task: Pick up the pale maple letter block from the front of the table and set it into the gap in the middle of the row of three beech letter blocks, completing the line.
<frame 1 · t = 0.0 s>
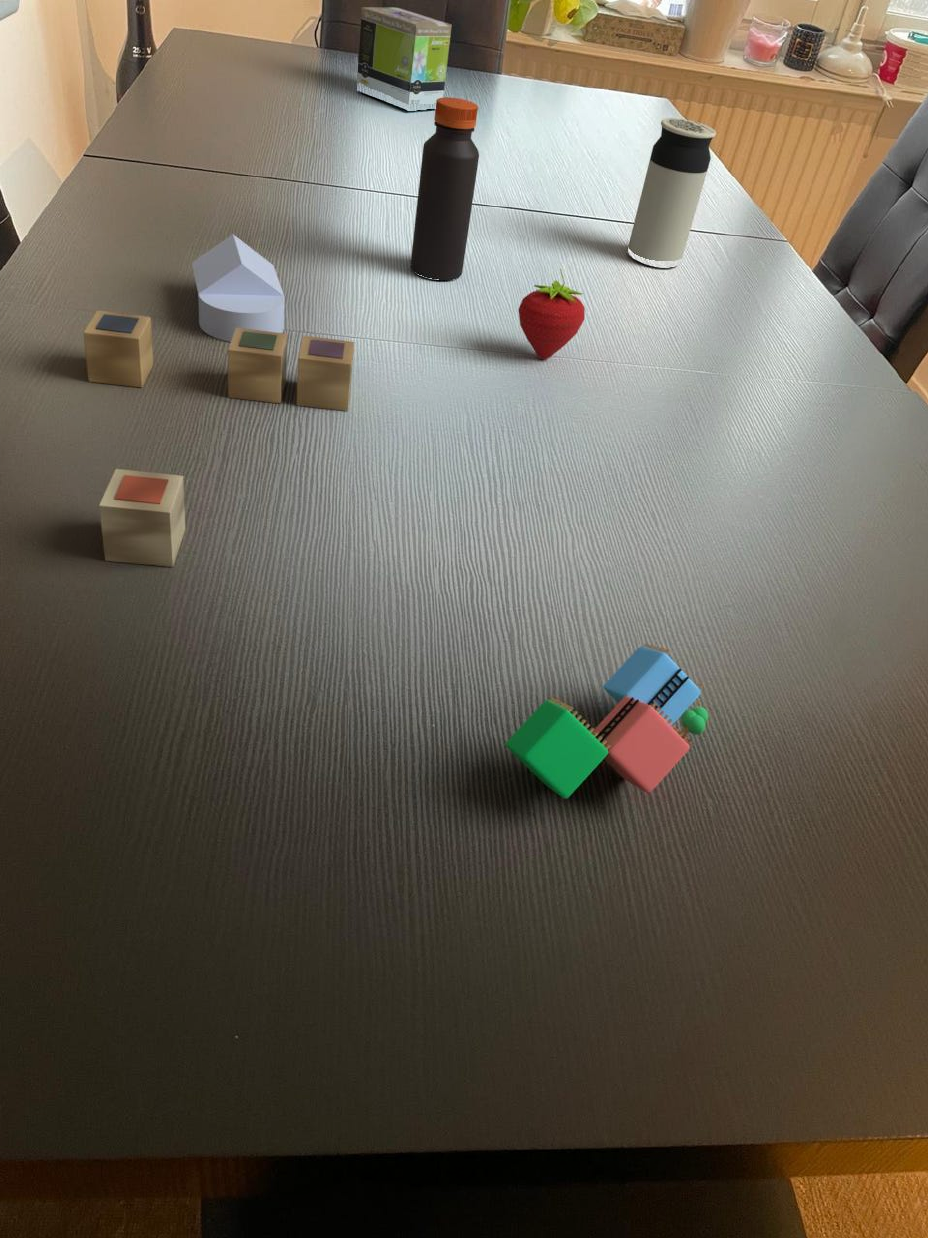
maple block: (146, 544, 76), on the table
travel mug: (652, 260, 143), on the table
beech block A: (121, 373, 95), on the table
beech block D: (324, 396, 98), on the table
bottle: (435, 273, 127), on the table
wedge on round base: (239, 318, 109), on the table
beech block C: (257, 388, 97), on the table
building blocks: (594, 753, 66), on the table
strawberry: (542, 359, 112), on the table
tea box: (398, 101, 193), on the table
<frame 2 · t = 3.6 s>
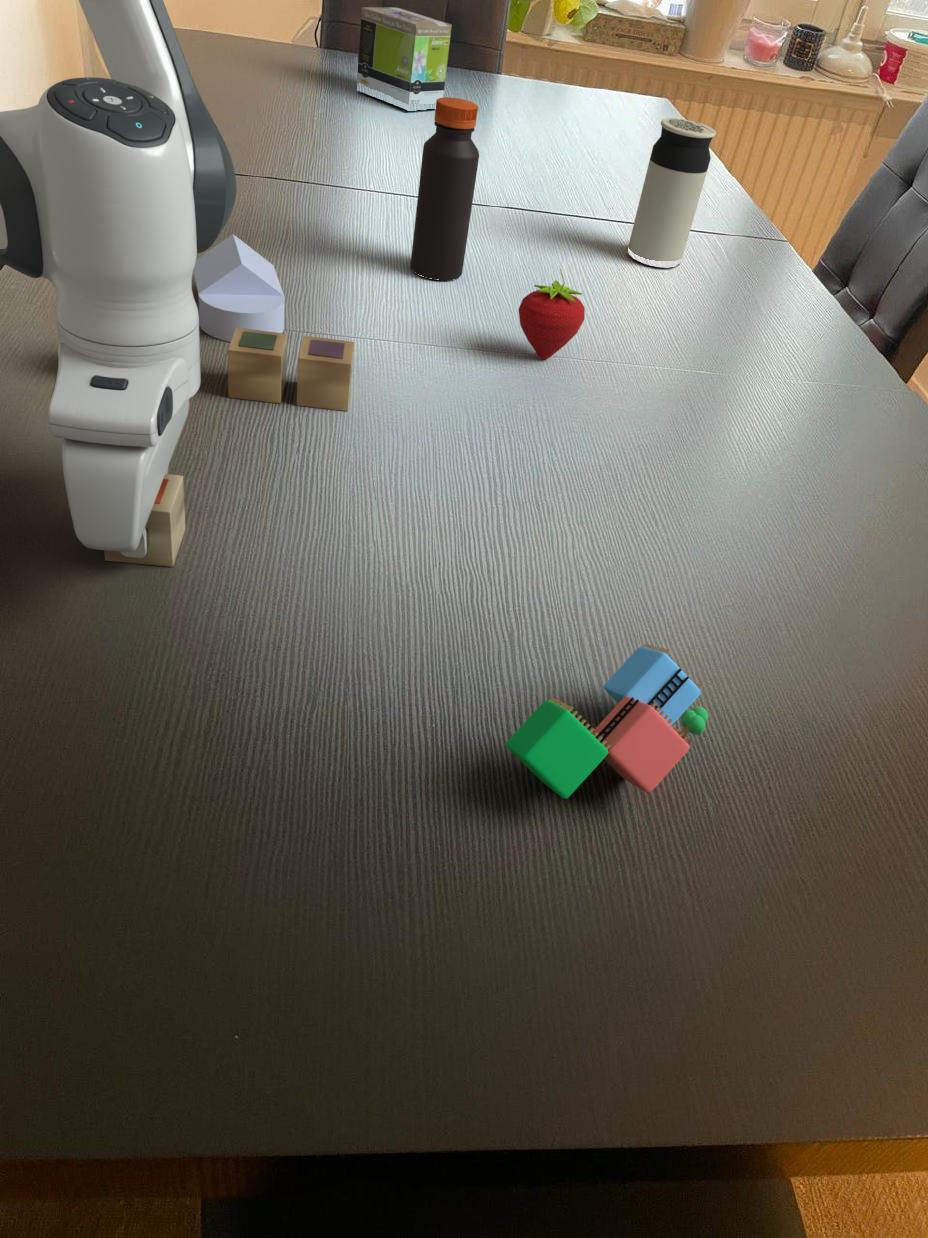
hand: (144, 527, 75), 2 cm above the table, tool pointing down, fingers closed on maple block, 5 cm apart
maple block: (146, 544, 76), on the table, touching gripper
everything else where it was.
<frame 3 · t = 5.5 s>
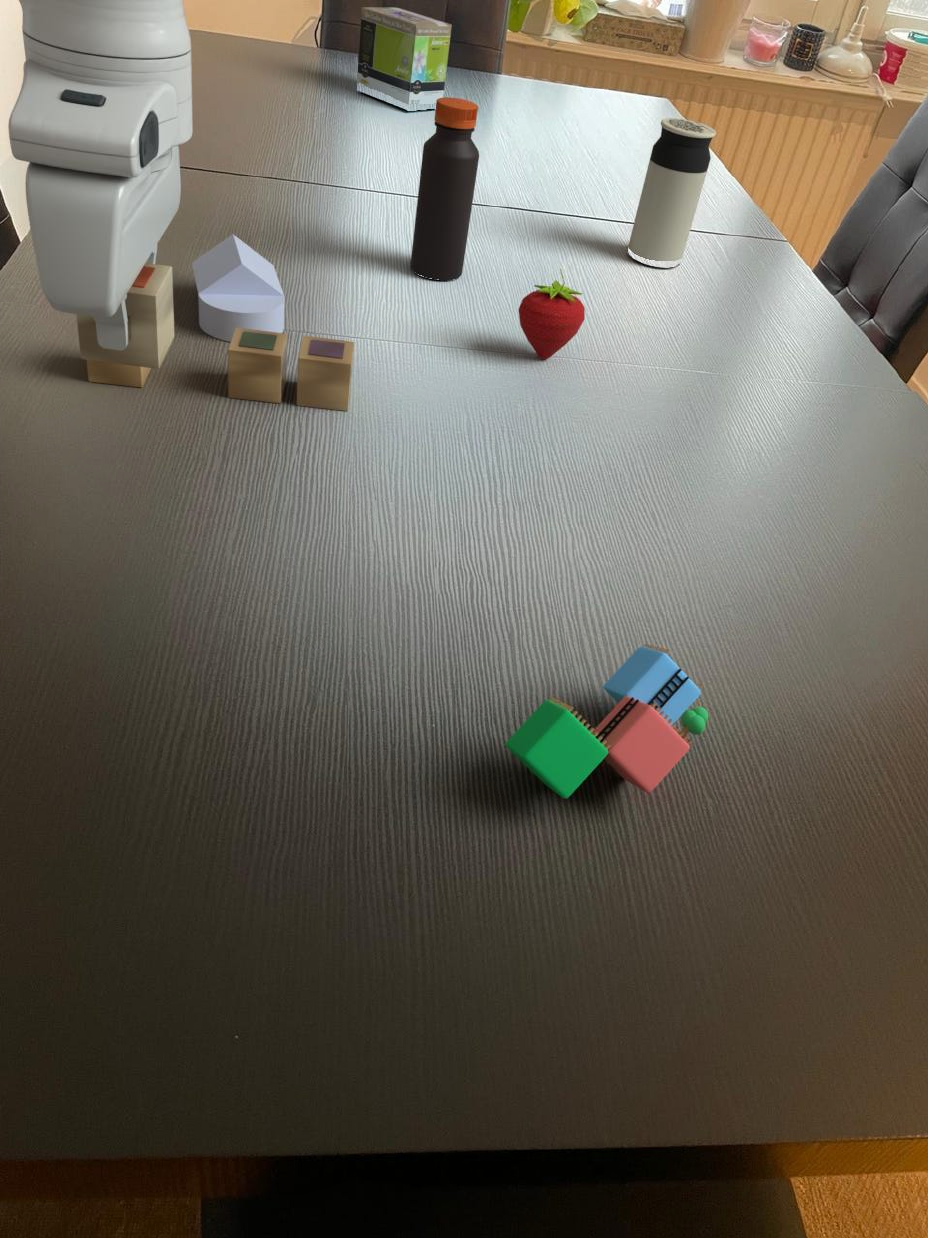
hand: (127, 324, 65), 17 cm above the table, tool pointing down, fingers closed on maple block, 5 cm apart
maple block: (129, 347, 66), point 16 cm above the table, touching gripper
everything else where it was.
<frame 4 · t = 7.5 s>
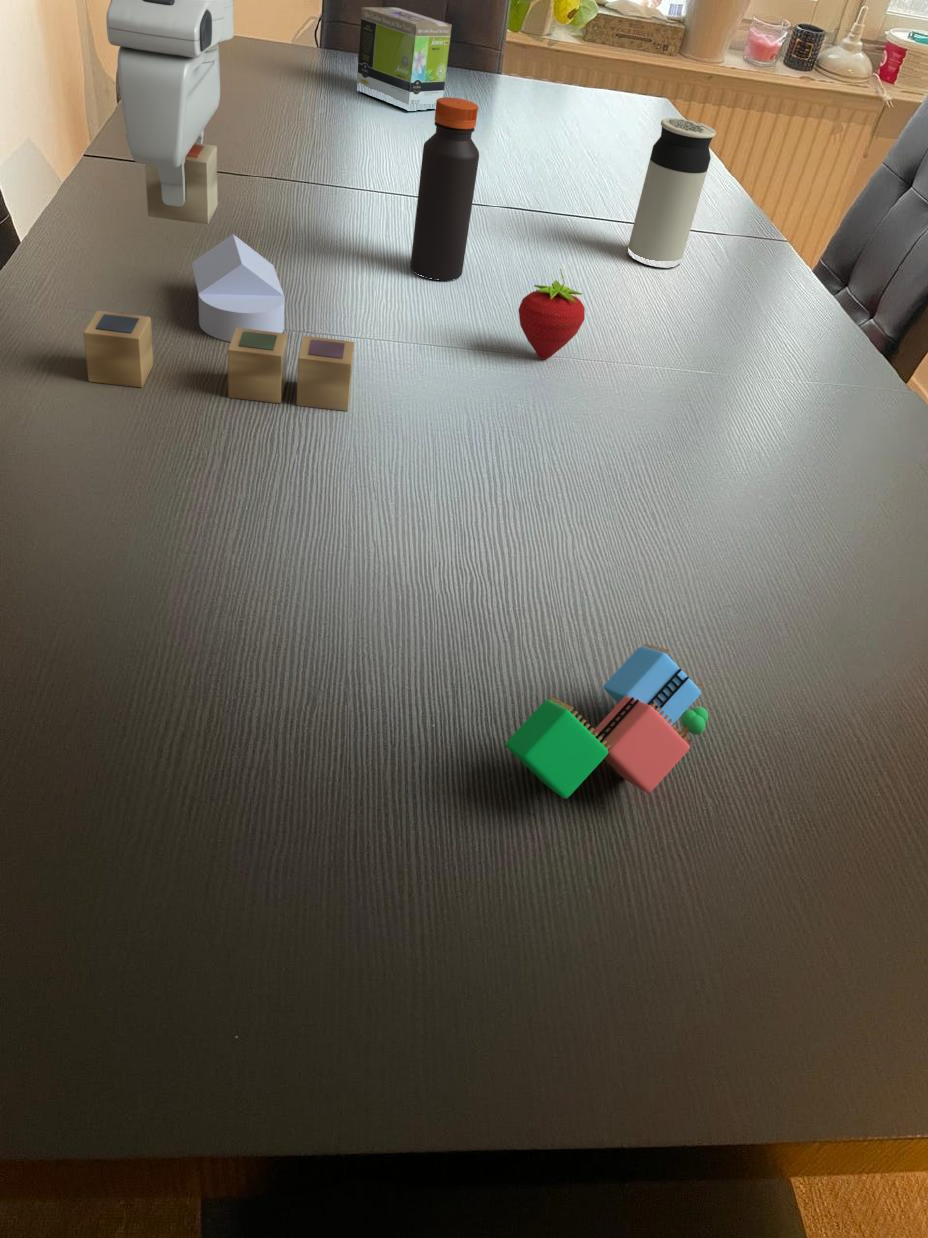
hand: (182, 191, 84), 18 cm above the table, tool pointing down, fingers closed on maple block, 5 cm apart
maple block: (183, 210, 85), point 16 cm above the table, touching gripper
everything else where it was.
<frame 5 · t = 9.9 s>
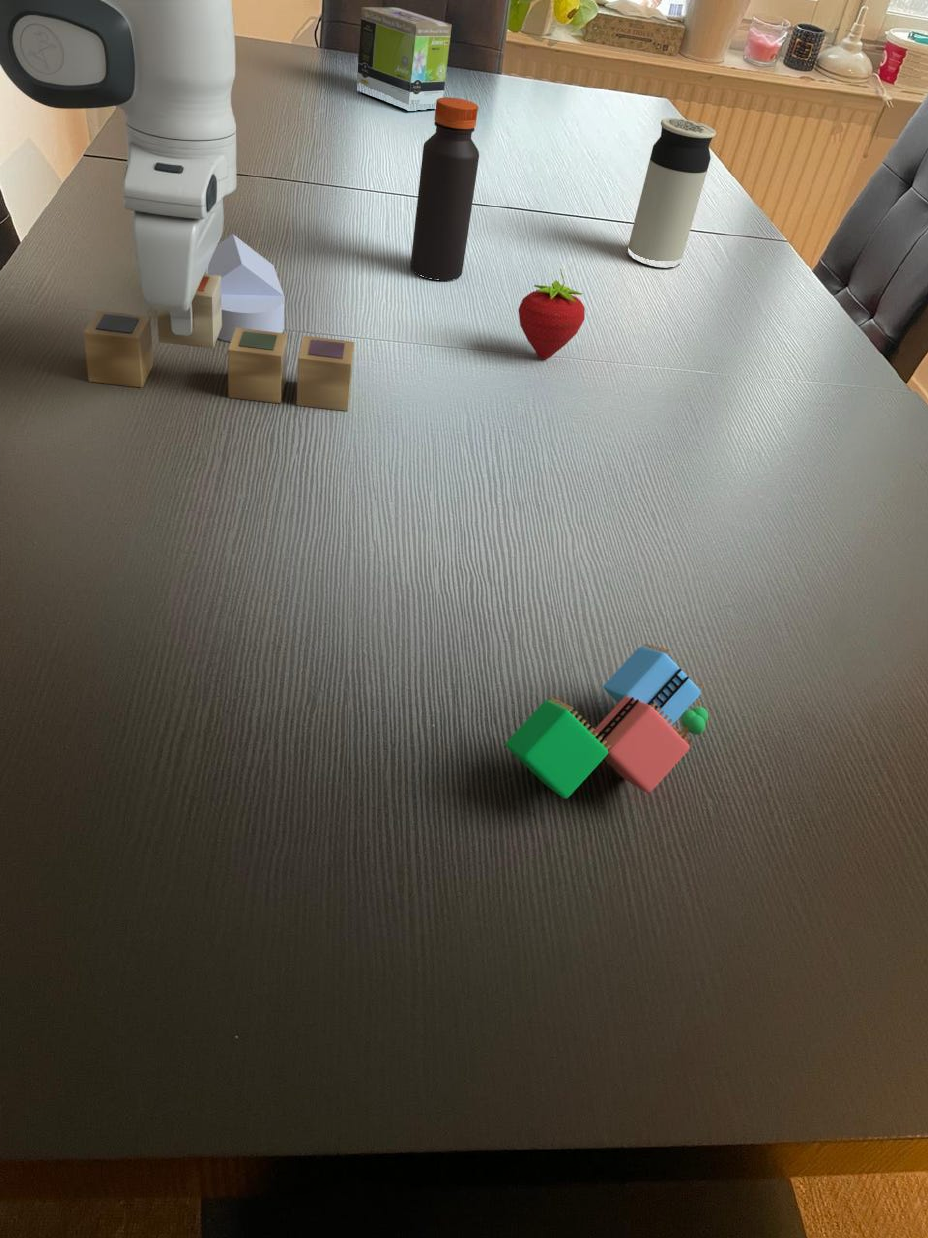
hand: (189, 317, 92), 6 cm above the table, tool pointing down, fingers closed on maple block, 5 cm apart
maple block: (191, 333, 93), point 5 cm above the table, touching gripper
everything else where it was.
when the fingers open (1 cm above the table, at t = 11.6 s): maple block stays where it is, on the table.
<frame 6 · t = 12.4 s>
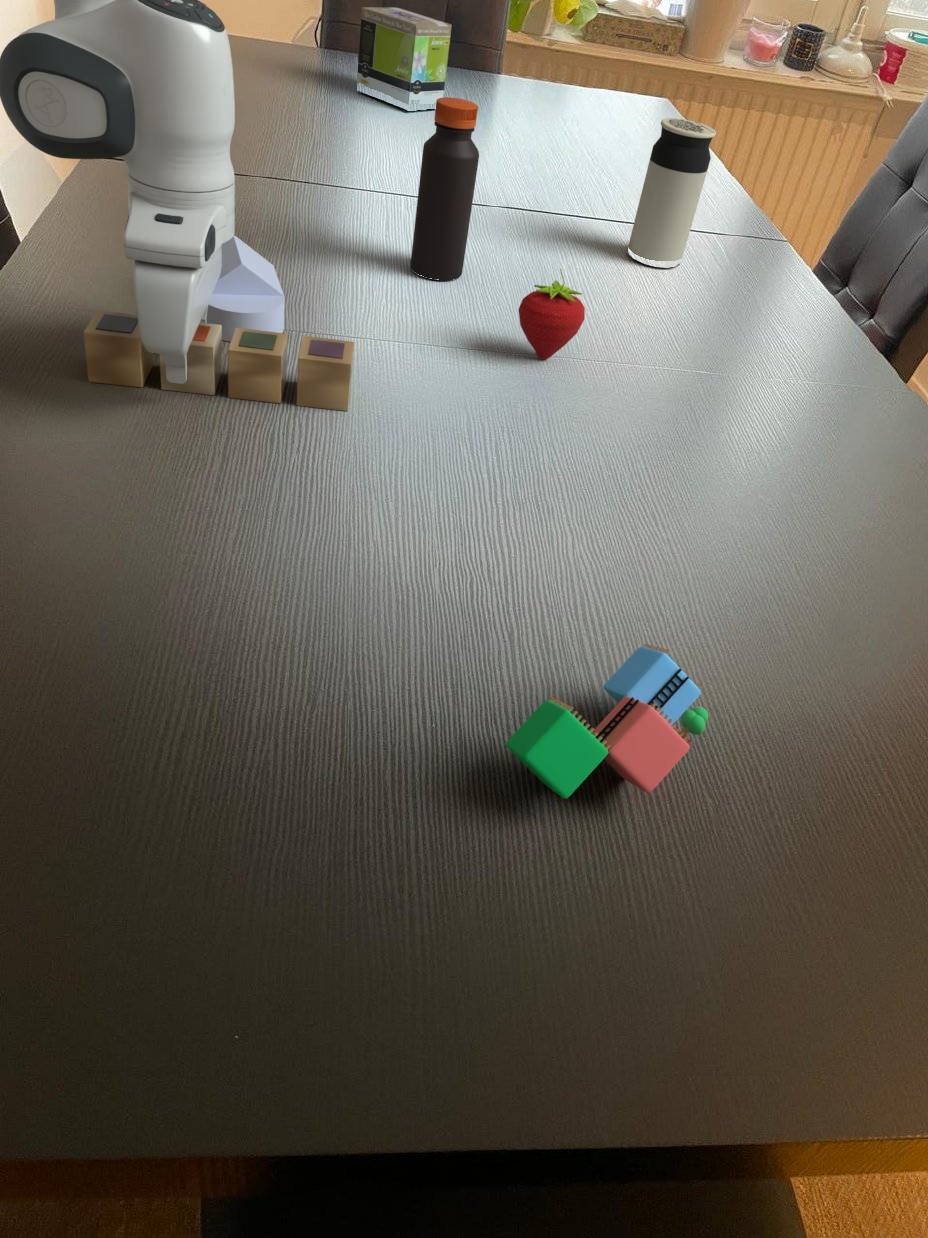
hand: (187, 357, 95), 2 cm above the table, tool pointing down, fingers open, 8 cm apart
maple block: (192, 380, 96), on the table
everything else where it was.
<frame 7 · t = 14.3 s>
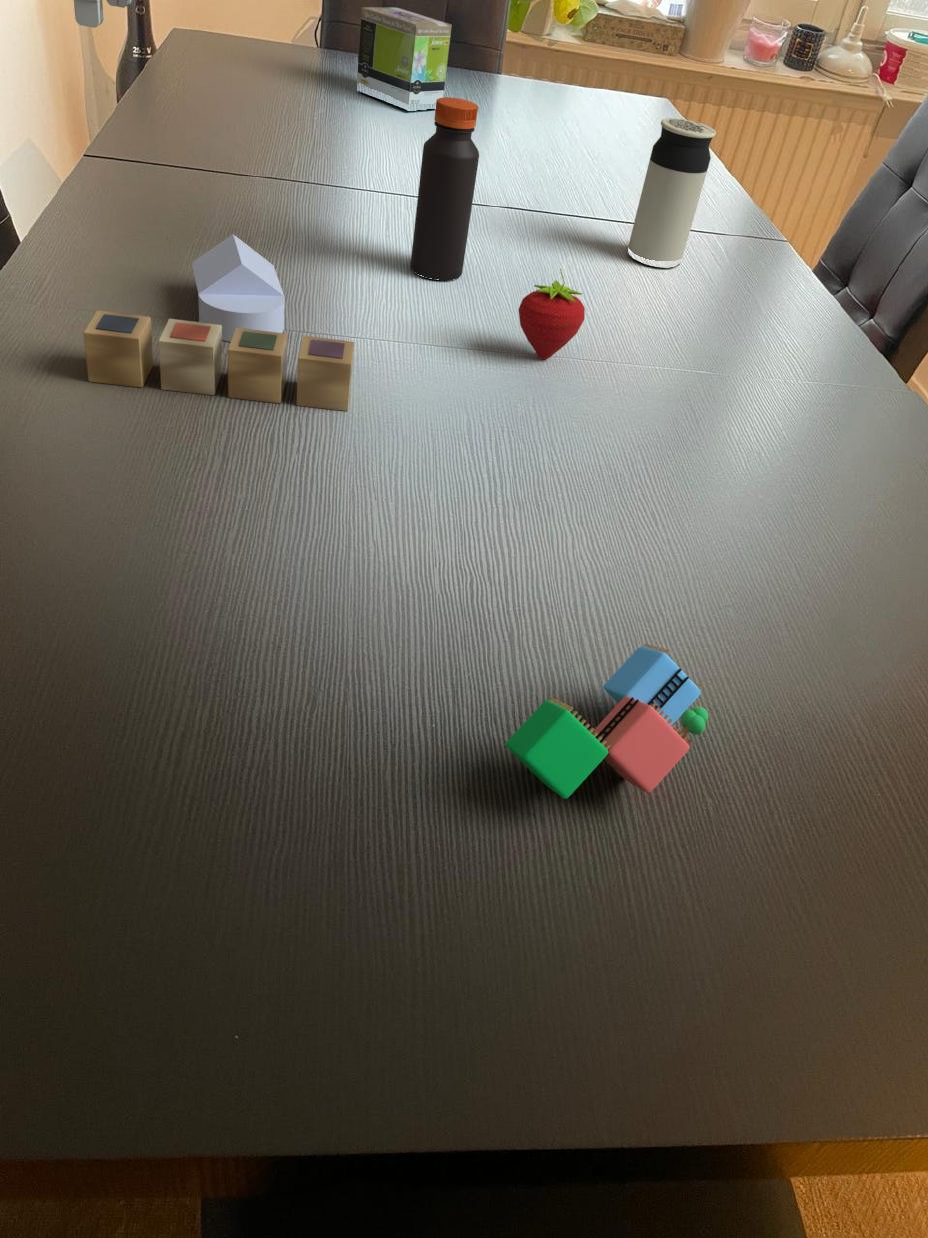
hand: (105, 14, 81), 29 cm above the table, tool pointing down, fingers open, 8 cm apart
nothing on the table moved.
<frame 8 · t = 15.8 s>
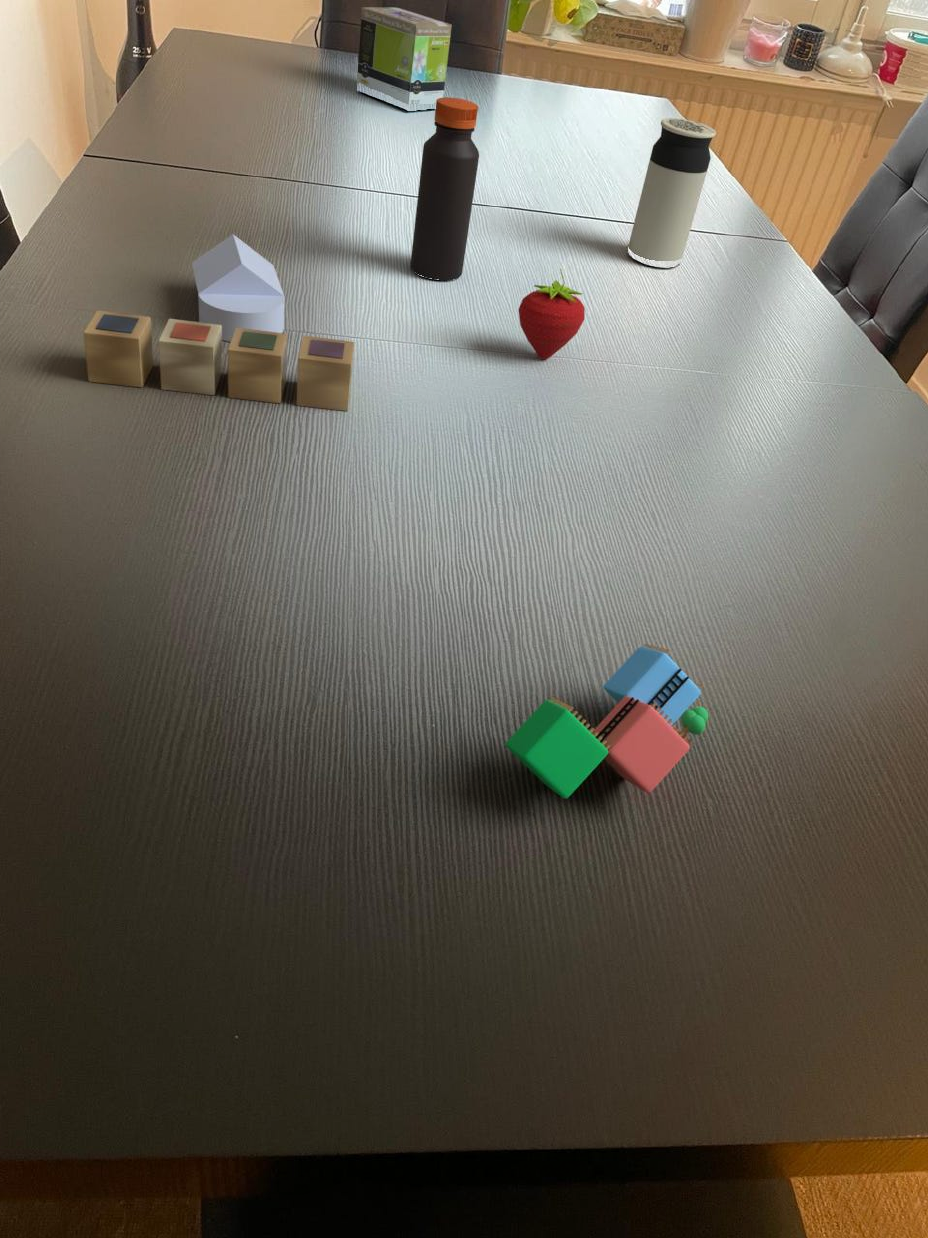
nothing on the table moved.
at the end: maple block 0.2 cm from the target spot on the table beside the beech block A, on the table; maple block tilted 0°; beech block C moved 0.0 cm from its start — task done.
